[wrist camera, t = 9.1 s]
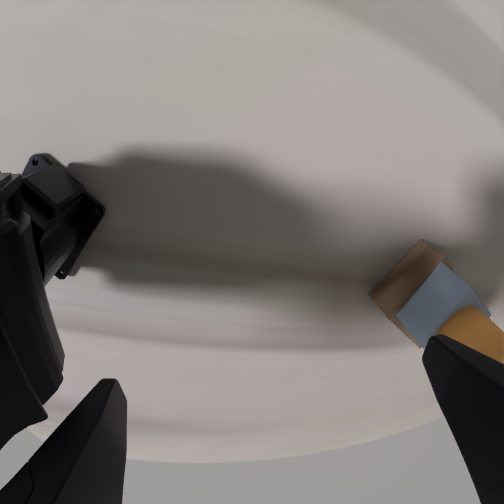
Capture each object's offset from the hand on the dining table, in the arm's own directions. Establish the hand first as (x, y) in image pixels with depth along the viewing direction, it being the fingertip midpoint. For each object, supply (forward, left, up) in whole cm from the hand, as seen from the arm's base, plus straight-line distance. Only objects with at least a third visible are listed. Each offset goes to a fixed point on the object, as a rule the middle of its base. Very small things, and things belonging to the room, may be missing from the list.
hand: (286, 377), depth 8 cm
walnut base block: (+5, -15, -13) cm, 20 cm away
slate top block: (+5, -14, -10) cm, 18 cm away
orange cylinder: (+5, -15, -6) cm, 17 cm away
